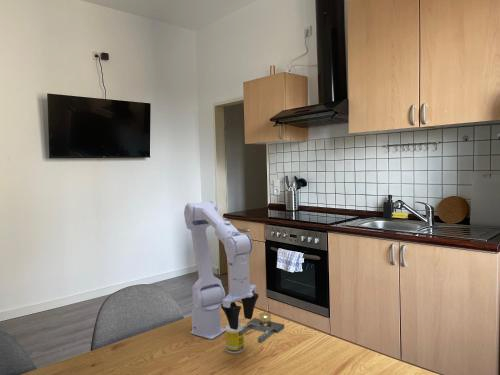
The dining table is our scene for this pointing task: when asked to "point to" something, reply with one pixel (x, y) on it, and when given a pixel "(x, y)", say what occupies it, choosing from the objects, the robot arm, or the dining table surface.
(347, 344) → the dining table surface
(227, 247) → the robot arm
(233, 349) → the supplement bottle
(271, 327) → the grey flat branched piece
